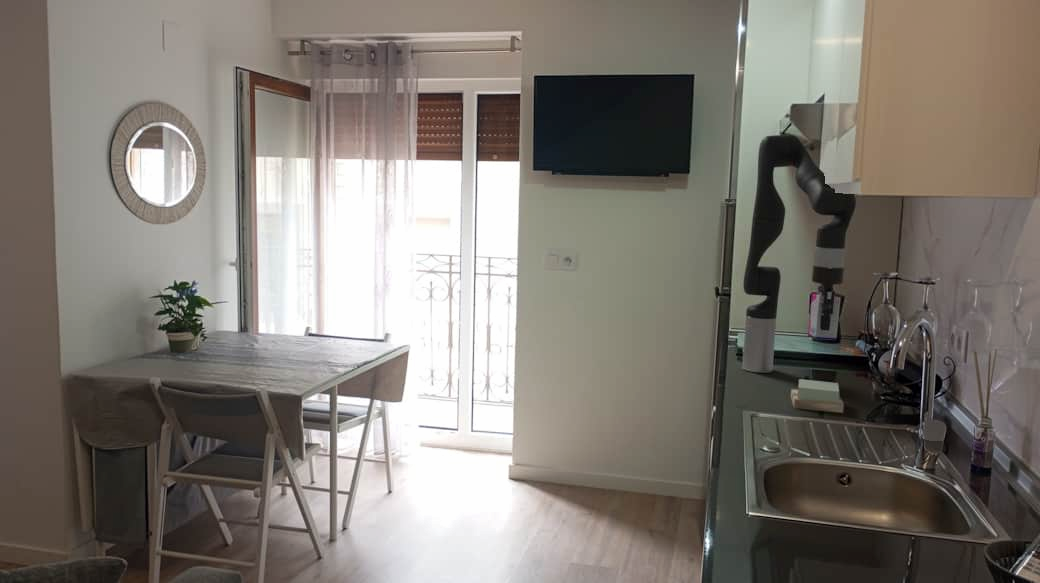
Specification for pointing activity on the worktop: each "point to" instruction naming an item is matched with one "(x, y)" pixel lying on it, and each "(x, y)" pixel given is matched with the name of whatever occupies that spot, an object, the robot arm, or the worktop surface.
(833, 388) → the sage slab
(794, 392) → the birch slab
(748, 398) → the worktop surface
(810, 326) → the supplement box
